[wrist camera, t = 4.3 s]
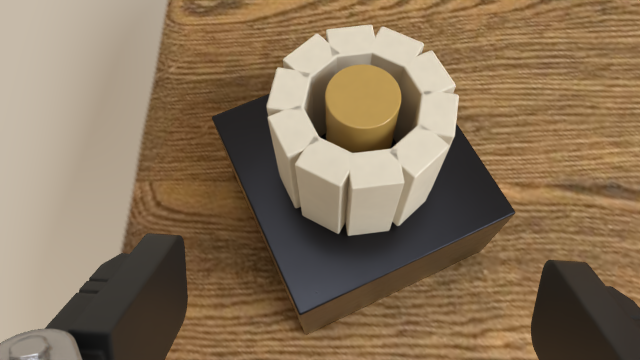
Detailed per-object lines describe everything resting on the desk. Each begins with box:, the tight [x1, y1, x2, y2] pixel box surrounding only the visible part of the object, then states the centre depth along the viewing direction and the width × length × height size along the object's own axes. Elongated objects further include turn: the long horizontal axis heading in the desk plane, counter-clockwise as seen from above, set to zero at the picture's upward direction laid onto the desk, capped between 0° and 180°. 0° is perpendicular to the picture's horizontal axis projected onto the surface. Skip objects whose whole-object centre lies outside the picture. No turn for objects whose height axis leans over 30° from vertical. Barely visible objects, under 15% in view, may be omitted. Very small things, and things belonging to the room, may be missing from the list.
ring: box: [266, 25, 459, 236], centre depth 19 cm, size 6×6×4 cm
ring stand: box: [212, 64, 515, 335], centre depth 21 cm, size 9×9×10 cm
